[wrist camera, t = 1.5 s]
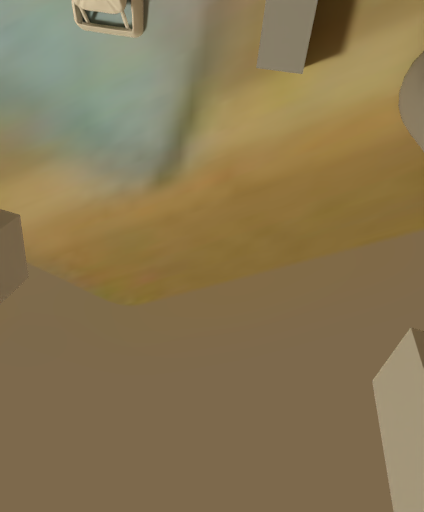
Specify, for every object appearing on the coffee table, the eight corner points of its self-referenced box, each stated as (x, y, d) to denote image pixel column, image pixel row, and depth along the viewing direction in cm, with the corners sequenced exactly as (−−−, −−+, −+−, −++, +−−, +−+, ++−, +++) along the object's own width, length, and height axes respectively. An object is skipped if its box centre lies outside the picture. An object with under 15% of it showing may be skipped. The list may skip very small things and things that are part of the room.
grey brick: (276, -45, 23) (273, -50, 21) (325, -41, 23) (327, -45, 21) (261, 61, 27) (256, 67, 24) (302, 67, 26) (302, 73, 24)
